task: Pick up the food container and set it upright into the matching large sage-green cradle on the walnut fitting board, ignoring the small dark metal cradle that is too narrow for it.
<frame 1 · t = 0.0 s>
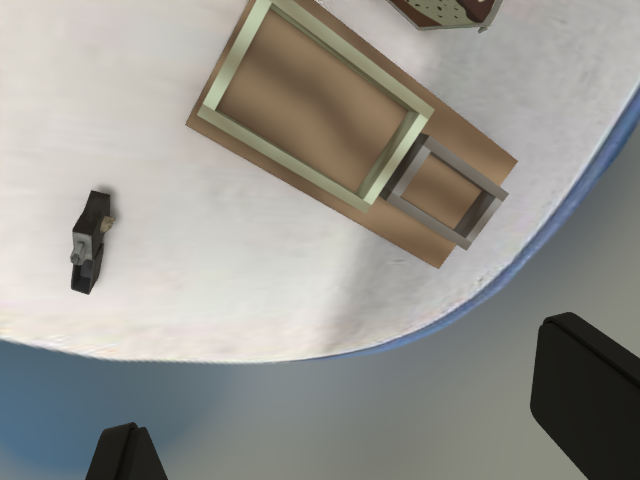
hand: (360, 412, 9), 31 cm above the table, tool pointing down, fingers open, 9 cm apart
fitting board: (365, 142, 39), on the table
lighter: (102, 234, 37), on the table
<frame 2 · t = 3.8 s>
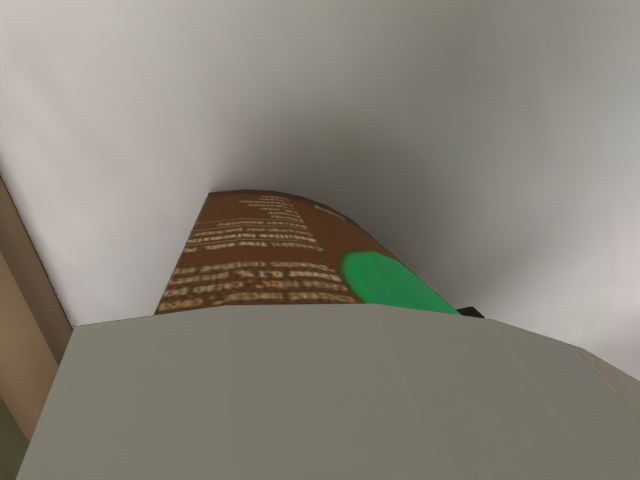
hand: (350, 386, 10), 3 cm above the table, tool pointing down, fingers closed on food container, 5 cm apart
food container: (342, 315, 13), on the table, touching gripper
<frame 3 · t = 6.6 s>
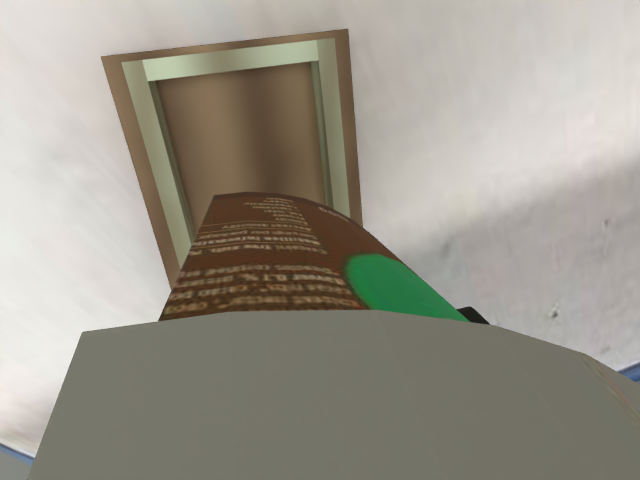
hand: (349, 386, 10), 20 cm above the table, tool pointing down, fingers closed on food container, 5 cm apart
fitting board: (270, 265, 30), on the table
food container: (346, 317, 13), point 17 cm above the table, touching gripper
when the fingers open (5 cm above the table, at t = 9.9 s): food container stays where it is, resting on fitting board.
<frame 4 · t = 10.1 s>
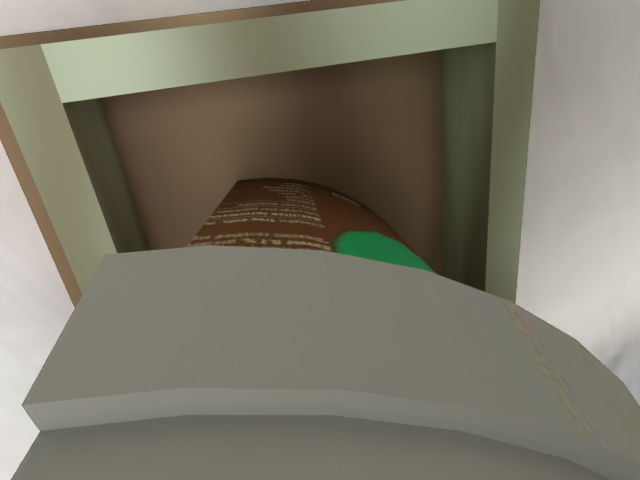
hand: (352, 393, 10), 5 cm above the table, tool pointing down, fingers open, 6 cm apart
fitting board: (330, 415, 17), on the table
food container: (360, 299, 13), point 1 cm above the table, touching fitting board, gripper
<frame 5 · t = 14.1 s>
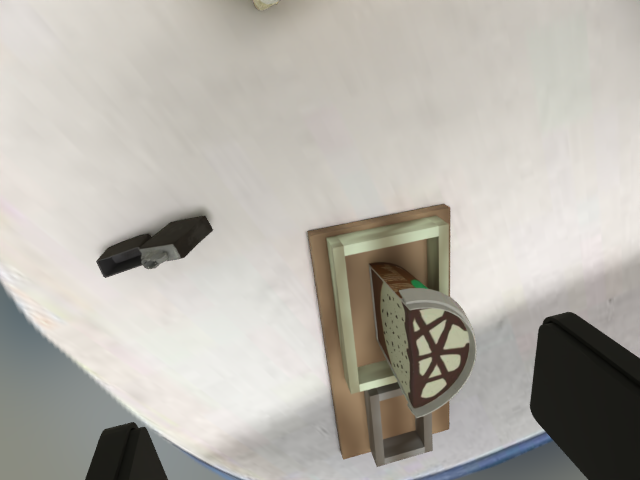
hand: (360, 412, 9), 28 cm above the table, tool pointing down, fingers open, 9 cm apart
fitting board: (386, 341, 45), on the table
lighter: (161, 237, 36), on the table
food container: (400, 295, 42), point 1 cm above the table, touching fitting board
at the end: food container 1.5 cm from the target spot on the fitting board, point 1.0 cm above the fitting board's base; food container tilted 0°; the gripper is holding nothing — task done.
